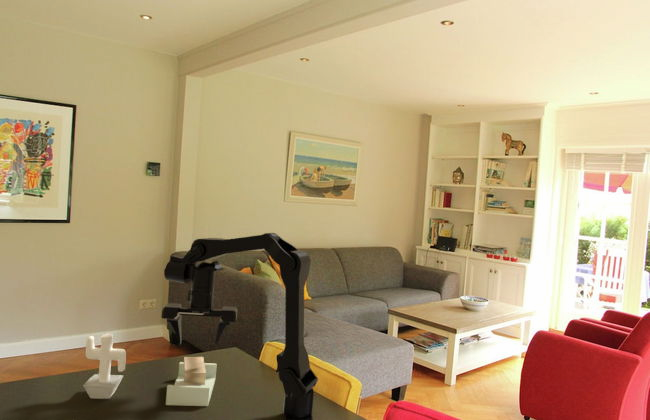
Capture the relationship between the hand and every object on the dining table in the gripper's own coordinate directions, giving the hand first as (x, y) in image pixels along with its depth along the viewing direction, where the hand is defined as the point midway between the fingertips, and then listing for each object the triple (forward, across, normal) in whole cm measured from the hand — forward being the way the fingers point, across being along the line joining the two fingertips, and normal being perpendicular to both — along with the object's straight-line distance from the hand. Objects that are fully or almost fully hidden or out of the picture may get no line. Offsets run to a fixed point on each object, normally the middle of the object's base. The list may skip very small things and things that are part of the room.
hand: (198, 345), depth 124 cm
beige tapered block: (+8, 0, +1) cm, 8 cm away
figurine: (+12, +21, +5) cm, 25 cm away
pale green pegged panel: (+12, 0, +1) cm, 12 cm away
